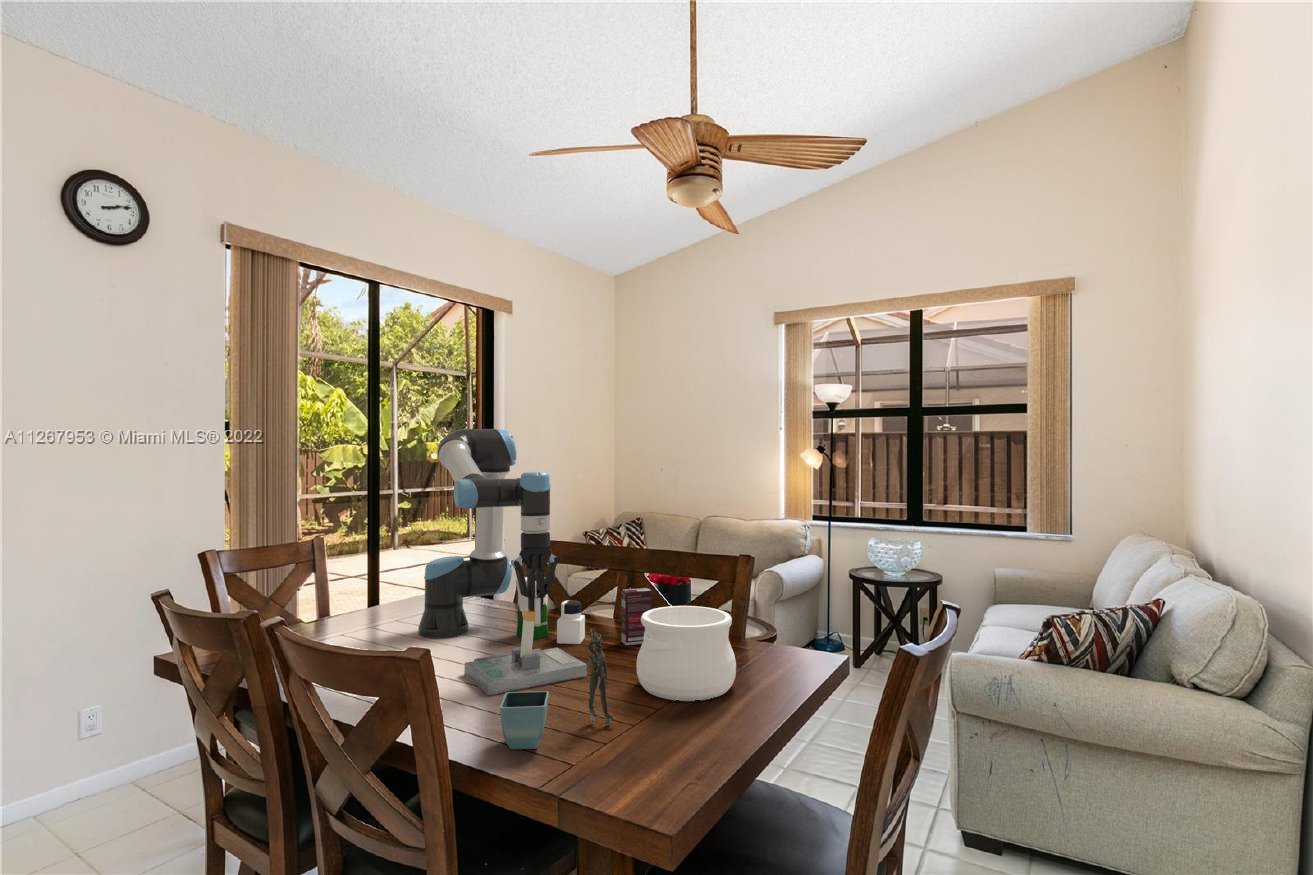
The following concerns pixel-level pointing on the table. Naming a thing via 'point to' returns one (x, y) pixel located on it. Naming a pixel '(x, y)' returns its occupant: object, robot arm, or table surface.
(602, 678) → the statue
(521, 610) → the milk carton
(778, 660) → the table surface
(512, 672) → the panel
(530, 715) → the flower pot
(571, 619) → the medicine bottle
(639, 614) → the supplement box
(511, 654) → the cords
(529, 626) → the lever
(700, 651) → the pot
